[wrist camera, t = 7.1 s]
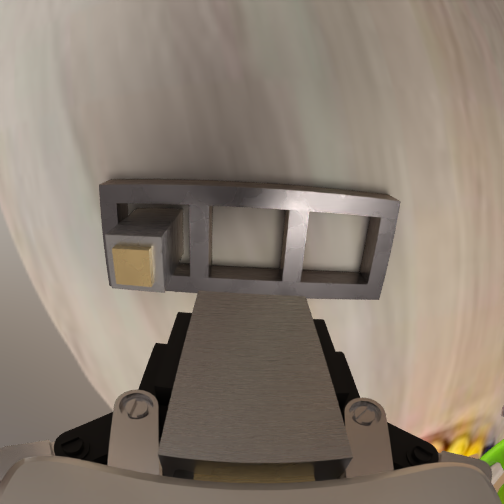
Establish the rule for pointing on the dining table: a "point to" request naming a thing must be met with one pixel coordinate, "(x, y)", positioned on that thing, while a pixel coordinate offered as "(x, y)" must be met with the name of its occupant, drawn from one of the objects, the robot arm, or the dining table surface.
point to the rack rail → (294, 236)
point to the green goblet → (500, 454)
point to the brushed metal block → (253, 396)
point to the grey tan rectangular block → (145, 249)
